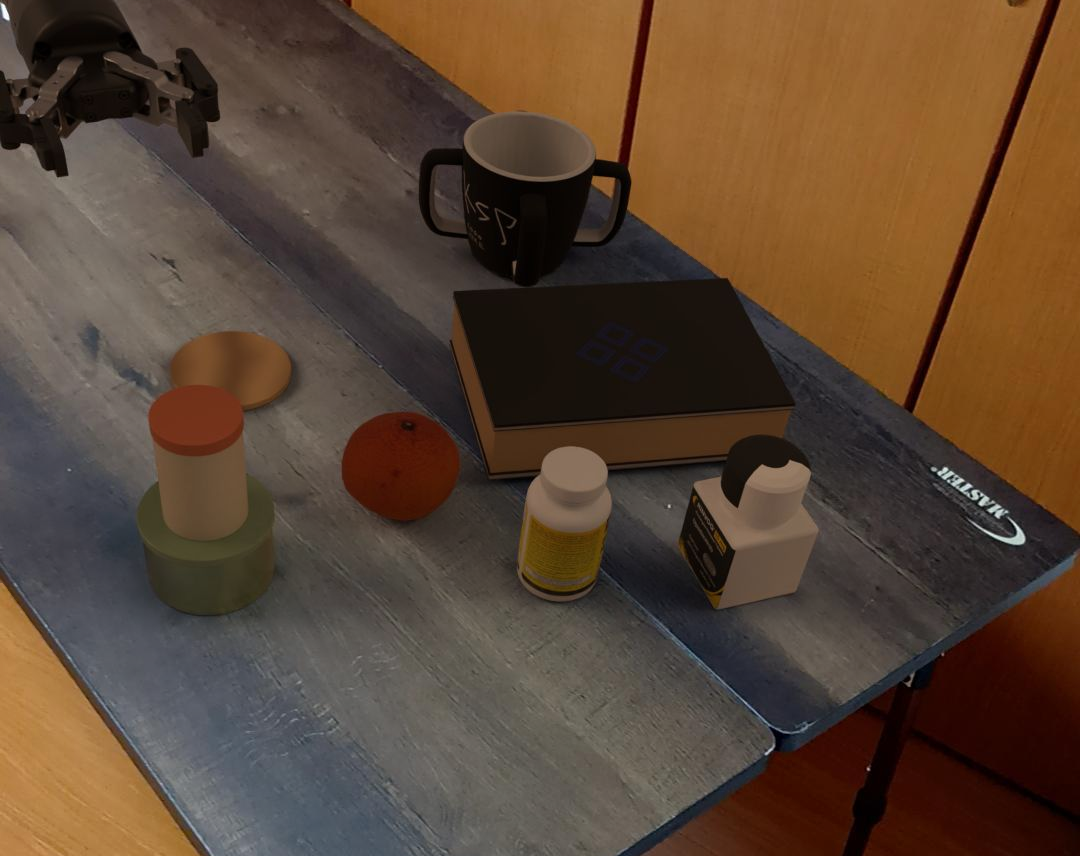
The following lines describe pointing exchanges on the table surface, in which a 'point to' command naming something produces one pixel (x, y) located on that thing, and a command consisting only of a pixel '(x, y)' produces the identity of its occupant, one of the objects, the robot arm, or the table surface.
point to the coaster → (234, 366)
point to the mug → (524, 193)
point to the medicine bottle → (750, 524)
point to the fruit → (400, 465)
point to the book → (613, 373)
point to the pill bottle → (565, 525)
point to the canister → (200, 461)
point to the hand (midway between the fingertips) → (130, 154)
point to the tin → (209, 557)
